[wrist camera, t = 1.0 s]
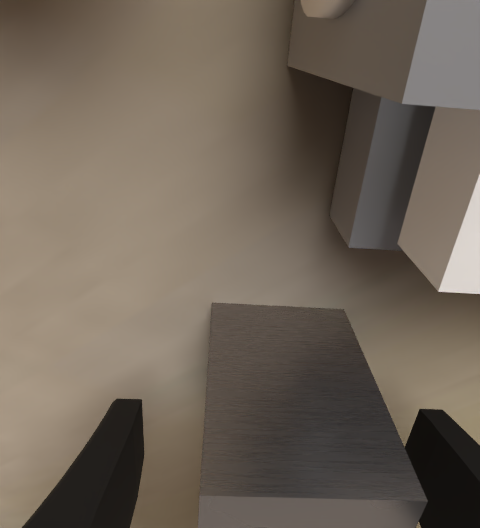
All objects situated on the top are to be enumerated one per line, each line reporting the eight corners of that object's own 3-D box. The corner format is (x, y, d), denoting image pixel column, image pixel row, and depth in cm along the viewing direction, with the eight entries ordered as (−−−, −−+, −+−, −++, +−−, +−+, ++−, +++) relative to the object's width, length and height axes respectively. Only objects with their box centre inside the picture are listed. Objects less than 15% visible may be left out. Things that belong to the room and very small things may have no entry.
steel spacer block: (343, 309, 13) (428, 501, 7) (321, 404, 14) (375, 613, 9) (212, 302, 12) (199, 495, 7) (206, 400, 14) (193, 611, 9)
